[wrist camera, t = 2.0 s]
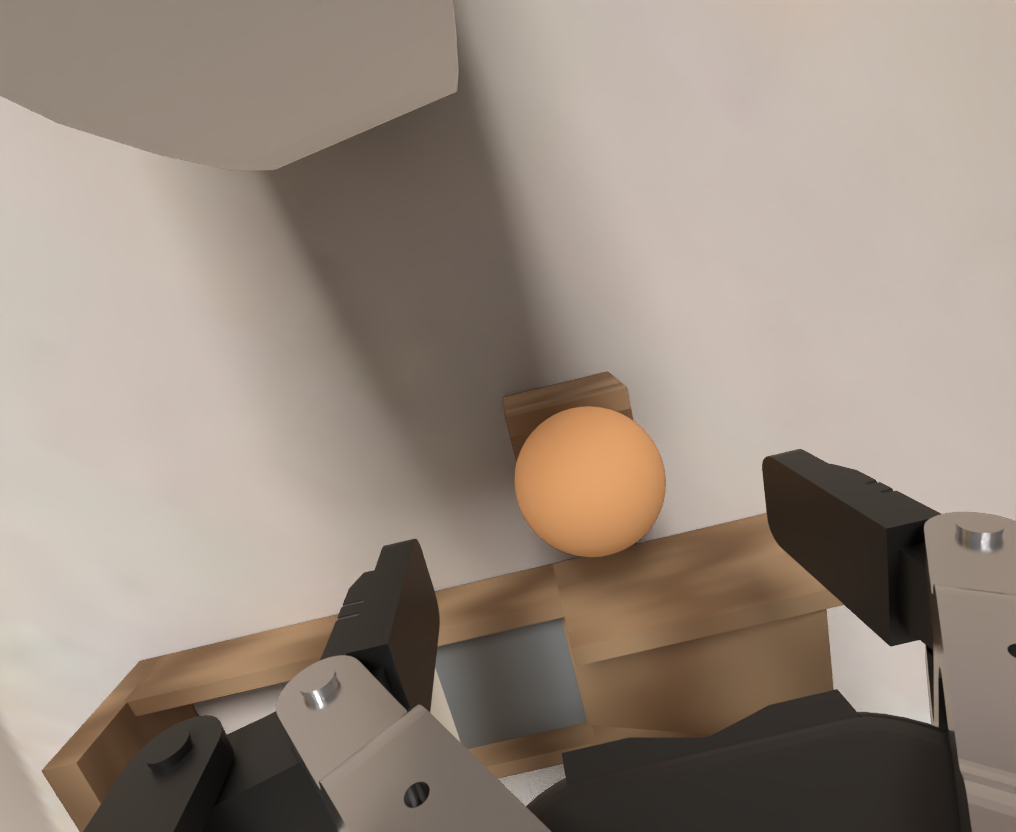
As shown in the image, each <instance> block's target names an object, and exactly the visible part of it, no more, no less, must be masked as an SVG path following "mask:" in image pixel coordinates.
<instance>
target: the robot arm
mask: <svg viewBox="0 0 1016 832" xmlns="http://www.w3.org/2000/svg"><path fill="white" fill-rule="evenodd" d="M762 471H763V481H764V491H765V500H766V510H767V519H768V524H769V528H770V531H771V533H772V535H773V537H774V539H775V541H776V542H777V544H778V545H779V546H780V547H781V548H782V549H783V550H784V551H785V552H786V553H787V554H788V555H790V556H791V557H792V558H793V559H794V560H795V561H796V562H797V563H798V564H800V565H801V566H802V567H803V568H804V569H805V570H806V571H807V572H808V573H810V574H811V575H812V576H813V577H814V578H815V579H816V580H817V581H818V582H819V583H821V584H822V585H823V586H824V587H825V588H826V589H827V590H828V591H829V592H831V593H832V594H833V595H834V596H835V597H836V598H837V599H838V600H839V601H841V602H842V603H843V604H844V605H845V606H846V607H847V608H848V609H849V610H851V611H852V612H853V613H854V614H855V615H856V616H857V617H858V618H859V619H860V620H862V621H863V622H864V623H865V624H866V625H867V626H868V627H869V628H870V629H872V630H873V631H874V632H875V633H876V634H877V635H878V636H879V637H880V638H882V639H883V640H884V641H885V642H886V643H887V644H888V645H889V646H890V647H891V646H895V645H899V644H904V643H908V642H912V641H916V640H921V641H922V642H923V643H924V644H925V662H926V673H927V684H928V695H929V706H930V717H931V724H928V723H924V722H920V721H916V720H912V719H909V718H905V717H899V716H893V715H888V714H880V713H869V712H856V711H855V709H854V708H853V707H852V706H851V705H850V704H849V702H848V701H847V700H846V699H845V698H844V697H843V695H842V694H841V693H840V692H839V691H838V690H837V689H836V690H832V691H827V692H823V693H819V694H814V695H810V696H806V697H801V698H797V699H793V700H788V701H784V702H780V703H776V704H771V705H768V706H766V707H764V708H763V709H761V710H759V711H757V712H755V713H753V714H751V715H749V716H747V717H745V718H744V719H742V720H740V721H738V722H736V723H734V724H732V725H730V726H728V727H727V728H725V729H723V730H721V731H719V732H717V733H715V734H713V735H711V736H708V737H701V738H645V737H629V738H625V739H620V740H616V741H612V742H607V743H603V744H599V745H594V746H590V747H586V748H581V749H577V750H573V751H568V752H564V753H562V758H563V764H564V770H565V776H566V778H565V779H563V780H561V781H559V782H558V783H556V784H554V785H552V786H551V787H550V788H548V789H547V790H545V791H544V792H542V793H541V794H540V795H538V796H537V797H536V798H535V799H534V800H533V801H532V802H530V803H529V804H528V805H527V806H525V805H524V804H523V803H522V802H521V801H520V800H519V799H518V798H517V797H515V796H514V795H513V794H512V793H511V792H510V791H509V790H508V789H507V788H506V787H505V786H504V785H503V784H502V783H501V782H500V781H499V780H498V779H497V778H496V777H495V776H494V775H493V774H492V773H491V772H490V771H489V770H488V769H487V768H486V767H485V766H484V765H483V764H482V763H481V762H480V761H479V760H478V759H477V758H476V757H475V756H474V755H473V754H472V753H471V752H470V751H469V750H468V749H467V748H466V747H465V746H463V745H462V744H461V743H460V742H459V741H458V740H457V739H456V738H455V737H454V736H453V735H452V734H451V733H450V732H449V731H448V730H447V729H446V728H445V727H444V726H443V725H442V724H441V723H440V722H439V721H438V720H437V719H436V718H435V717H434V716H433V715H432V714H431V713H430V710H431V701H432V692H433V683H434V674H435V665H436V656H437V647H438V637H439V628H440V616H439V608H438V602H437V598H436V595H435V591H434V588H433V585H432V582H431V578H430V575H429V572H428V569H427V565H426V562H425V559H424V556H423V552H422V549H421V546H420V544H419V542H418V540H417V539H411V540H407V541H403V542H399V543H394V544H390V545H386V546H383V548H382V551H381V553H380V556H379V559H378V562H377V565H376V568H375V570H374V571H369V572H365V573H363V574H362V575H361V576H360V578H359V579H358V580H357V581H356V582H355V583H354V584H353V585H352V586H351V587H350V588H349V590H348V593H347V595H346V598H345V600H344V603H343V607H342V608H341V610H340V612H339V615H338V617H337V618H338V621H336V622H335V625H334V627H333V629H332V632H331V634H330V637H329V639H328V642H327V644H326V647H325V649H324V651H323V654H322V656H321V659H320V661H318V662H316V663H314V664H312V665H310V666H309V667H307V668H305V669H304V670H302V671H301V672H300V673H298V674H297V675H296V676H295V677H294V678H293V679H292V680H291V681H290V682H289V683H288V684H287V685H286V686H285V687H284V689H283V690H282V692H281V693H280V695H279V697H278V700H277V703H276V711H275V712H274V713H272V714H270V715H268V716H266V717H264V718H262V719H260V720H257V721H255V722H253V723H251V724H249V725H247V726H245V727H243V728H240V729H238V730H236V731H234V732H232V733H230V734H228V735H226V733H225V731H224V729H223V727H222V725H221V722H220V721H219V720H218V719H217V718H216V717H213V716H207V715H206V716H198V717H193V718H190V719H187V720H185V721H182V722H180V723H178V724H176V725H174V726H172V727H170V728H168V729H167V730H165V731H164V732H162V733H160V734H159V735H158V736H156V737H155V738H154V739H152V740H151V741H150V742H149V743H147V744H146V745H145V746H144V747H143V748H142V749H141V750H140V751H139V752H138V753H137V754H136V755H135V756H134V757H133V758H132V759H131V760H130V762H129V763H128V765H127V766H126V767H125V769H124V770H123V772H122V773H121V775H120V776H119V778H118V779H117V781H116V782H115V784H114V785H113V787H112V788H111V790H110V791H109V793H108V794H107V796H106V797H105V799H104V800H103V802H102V804H101V805H100V807H99V808H98V810H97V811H96V813H95V814H94V816H93V817H92V819H91V820H90V822H89V823H88V825H87V826H86V828H85V829H84V831H83V832H1016V521H1014V520H1011V519H1008V518H1005V517H1001V516H997V515H992V514H986V513H977V512H952V513H945V514H941V513H939V512H937V511H935V510H933V509H931V508H929V507H927V506H925V505H923V504H921V503H919V502H917V501H915V500H914V499H912V498H910V497H908V496H906V495H904V494H902V493H900V492H898V491H893V490H892V488H890V487H888V486H886V485H885V484H883V483H881V482H879V483H877V481H876V480H875V479H873V478H871V477H869V476H867V475H865V474H863V473H861V472H859V471H857V470H854V469H850V468H846V467H842V466H838V465H834V464H828V463H826V462H824V461H823V460H821V459H819V458H817V457H815V456H813V455H812V454H810V453H808V452H806V451H804V450H802V449H797V450H793V451H789V452H785V453H780V454H776V455H772V456H768V457H765V459H764V460H763V464H762Z"/></svg>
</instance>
